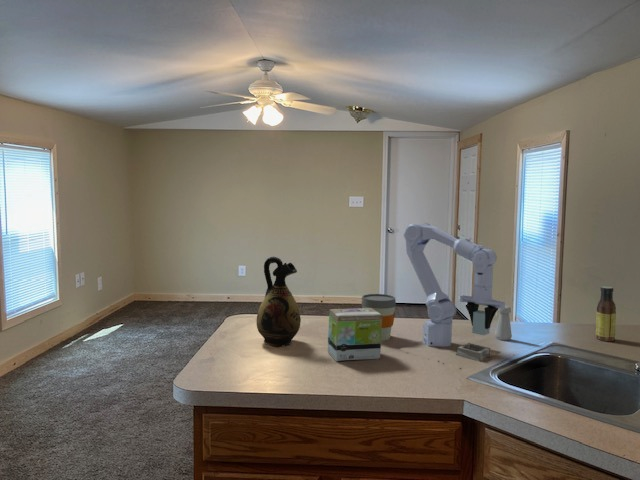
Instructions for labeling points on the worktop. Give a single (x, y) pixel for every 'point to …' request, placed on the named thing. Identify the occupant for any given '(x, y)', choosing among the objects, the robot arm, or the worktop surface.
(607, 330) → the sauce bottle
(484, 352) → the board
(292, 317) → the ceramic jug
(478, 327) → the peg
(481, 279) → the robot arm
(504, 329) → the salt shaker
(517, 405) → the worktop surface
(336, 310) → the tea box
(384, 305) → the reusable coffee cup
